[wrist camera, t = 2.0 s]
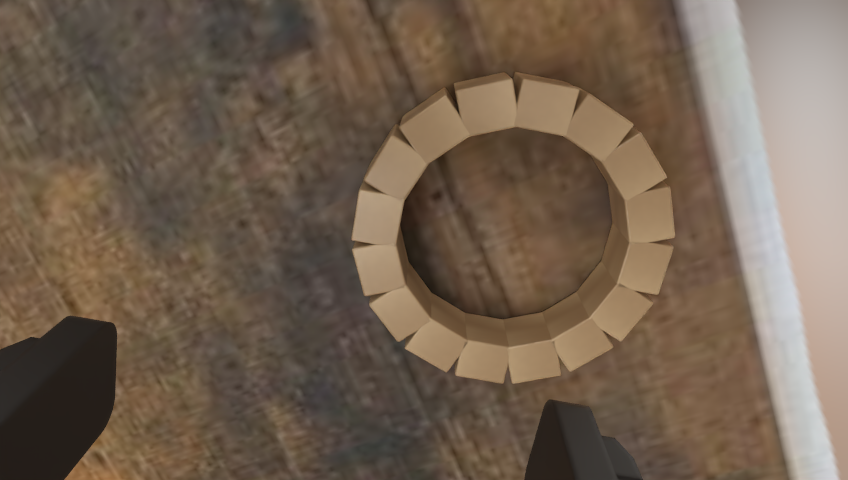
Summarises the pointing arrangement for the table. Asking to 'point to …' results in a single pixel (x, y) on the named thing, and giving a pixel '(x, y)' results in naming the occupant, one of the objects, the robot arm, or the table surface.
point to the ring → (563, 322)
